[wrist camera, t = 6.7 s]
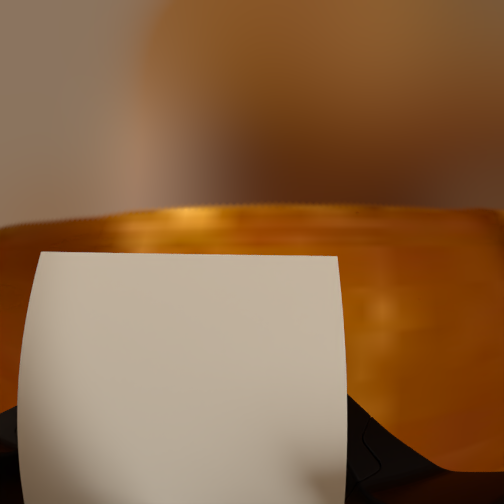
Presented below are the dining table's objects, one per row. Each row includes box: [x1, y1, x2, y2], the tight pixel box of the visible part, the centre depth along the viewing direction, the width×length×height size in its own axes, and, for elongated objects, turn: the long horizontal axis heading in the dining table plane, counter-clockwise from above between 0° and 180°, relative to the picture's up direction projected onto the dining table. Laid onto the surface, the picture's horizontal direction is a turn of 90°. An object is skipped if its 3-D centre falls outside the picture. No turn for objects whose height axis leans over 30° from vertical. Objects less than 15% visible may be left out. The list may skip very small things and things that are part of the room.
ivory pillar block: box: [17, 252, 347, 504], centre depth 9 cm, size 5×5×12 cm
